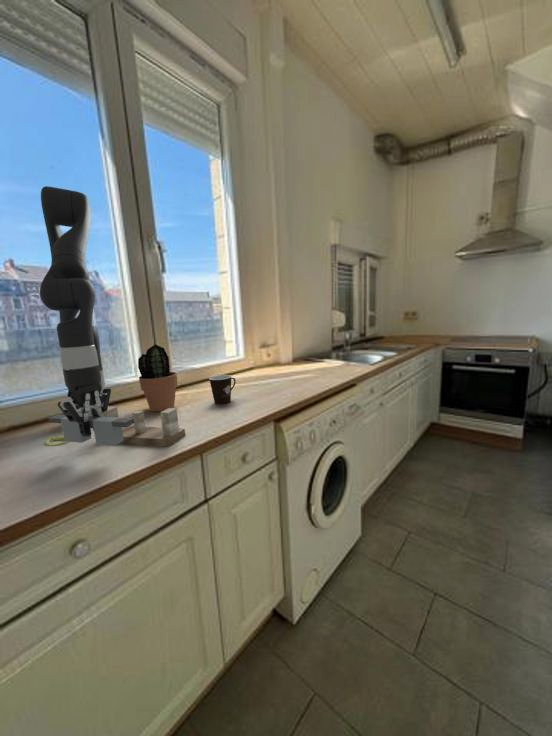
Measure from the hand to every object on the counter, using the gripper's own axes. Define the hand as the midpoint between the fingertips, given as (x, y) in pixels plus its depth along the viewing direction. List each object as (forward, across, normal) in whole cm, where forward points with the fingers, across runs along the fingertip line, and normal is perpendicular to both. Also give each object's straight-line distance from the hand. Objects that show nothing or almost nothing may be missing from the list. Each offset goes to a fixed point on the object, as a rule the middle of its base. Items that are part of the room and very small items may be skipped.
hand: (92, 433), depth 78 cm
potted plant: (+8, -42, -11) cm, 44 cm away
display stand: (+7, -14, +2) cm, 16 cm away
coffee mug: (+8, -53, +11) cm, 55 cm away
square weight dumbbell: (+2, 0, 0) cm, 2 cm away
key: (+8, -11, -22) cm, 26 cm away
